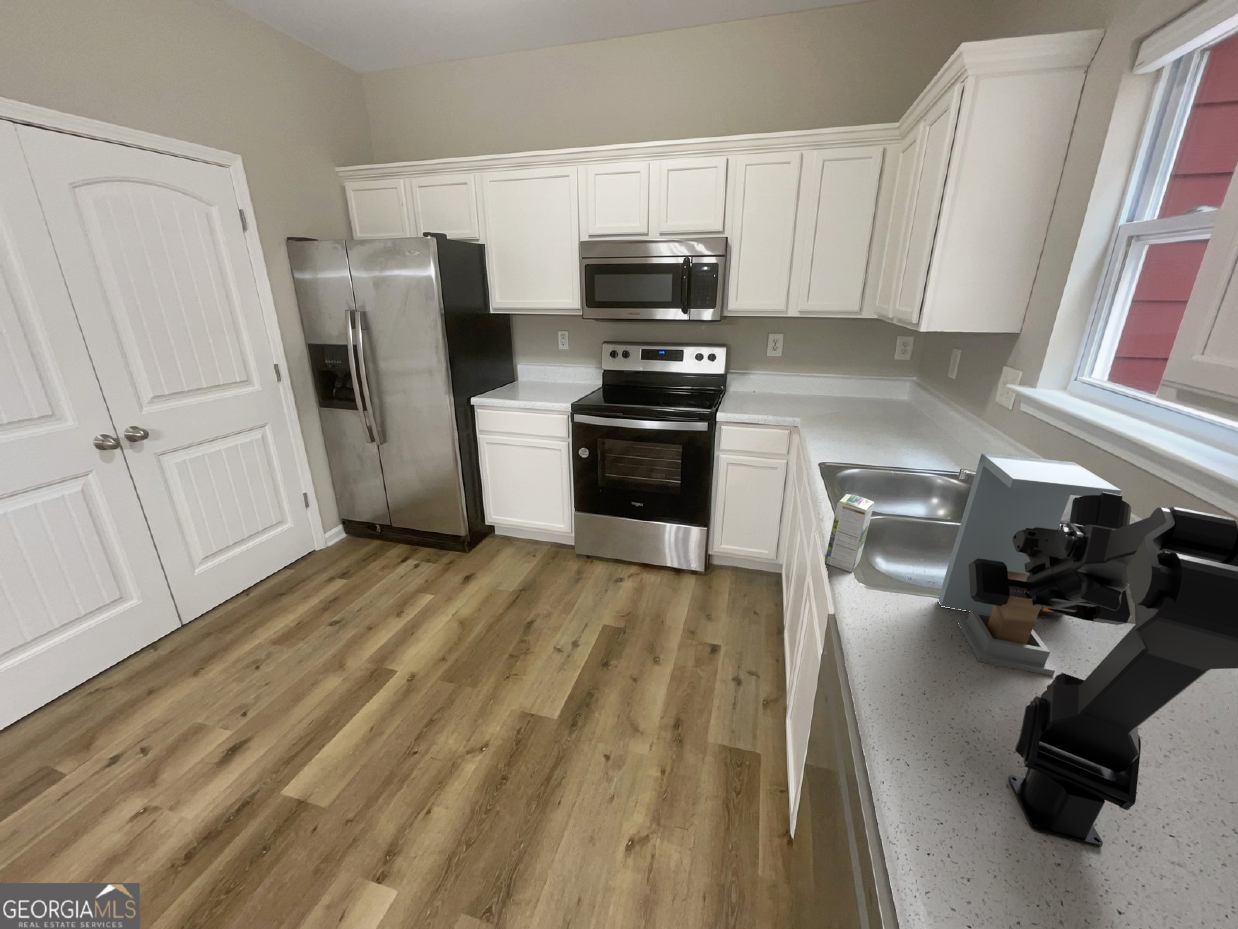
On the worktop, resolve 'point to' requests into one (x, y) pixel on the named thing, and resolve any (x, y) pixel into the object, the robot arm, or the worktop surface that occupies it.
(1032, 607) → the peg
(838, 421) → the worktop surface
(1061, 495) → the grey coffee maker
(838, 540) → the syrup box
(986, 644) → the socket
